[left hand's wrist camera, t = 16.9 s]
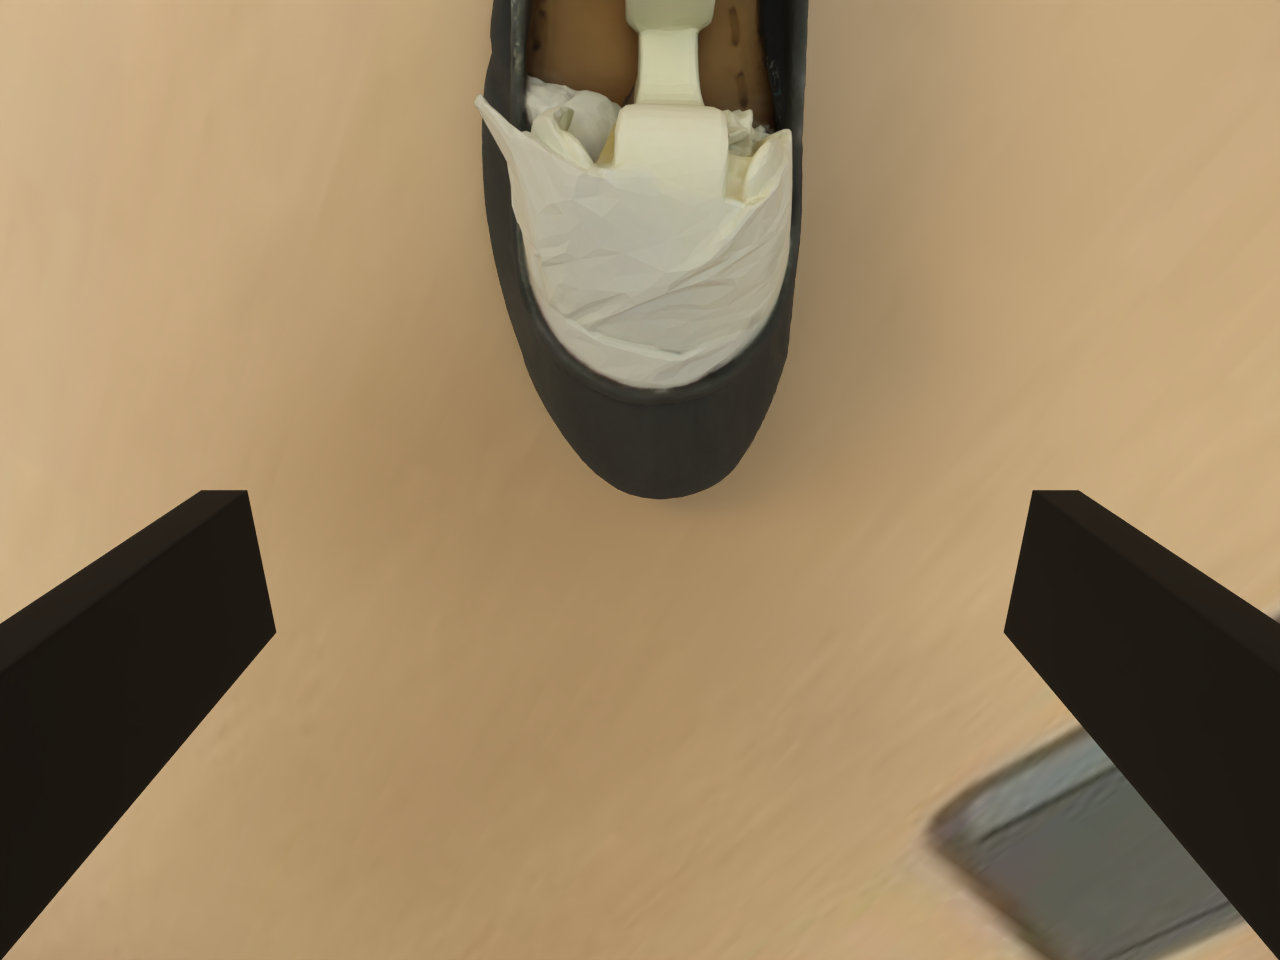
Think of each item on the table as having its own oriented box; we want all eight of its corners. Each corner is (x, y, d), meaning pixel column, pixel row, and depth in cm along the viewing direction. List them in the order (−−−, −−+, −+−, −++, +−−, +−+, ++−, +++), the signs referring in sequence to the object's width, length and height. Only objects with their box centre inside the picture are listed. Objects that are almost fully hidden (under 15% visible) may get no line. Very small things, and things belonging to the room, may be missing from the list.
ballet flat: (531, 485, 24) (475, 622, 17) (422, -576, 15) (196, -1317, 8) (779, 477, 24) (838, 612, 17) (814, -605, 15) (977, -1403, 8)
